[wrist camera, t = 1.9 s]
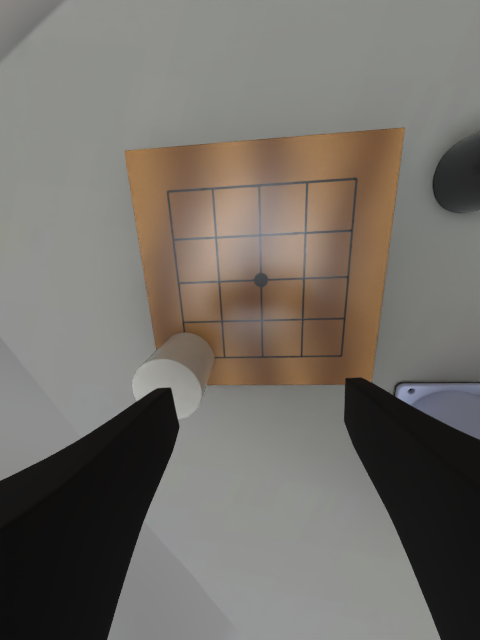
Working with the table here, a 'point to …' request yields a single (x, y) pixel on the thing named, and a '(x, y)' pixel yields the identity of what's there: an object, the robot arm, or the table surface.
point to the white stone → (177, 371)
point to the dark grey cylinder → (460, 176)
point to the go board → (270, 251)
